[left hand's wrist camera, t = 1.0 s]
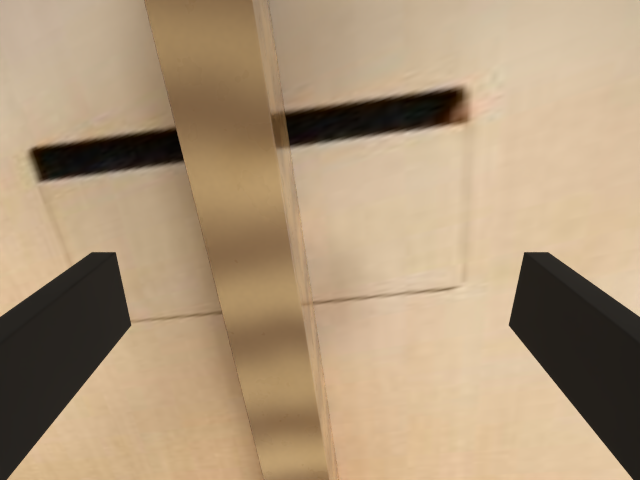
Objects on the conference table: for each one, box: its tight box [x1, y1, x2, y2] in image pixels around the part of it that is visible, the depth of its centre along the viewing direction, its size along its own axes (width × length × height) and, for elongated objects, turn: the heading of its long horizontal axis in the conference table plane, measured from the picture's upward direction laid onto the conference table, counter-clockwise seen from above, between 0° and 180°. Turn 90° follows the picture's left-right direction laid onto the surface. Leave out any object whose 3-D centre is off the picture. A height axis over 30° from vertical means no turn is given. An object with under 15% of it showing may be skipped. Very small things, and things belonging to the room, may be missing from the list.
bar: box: [144, 0, 339, 480], centre depth 31 cm, size 62×5×8 cm, turn 7°
